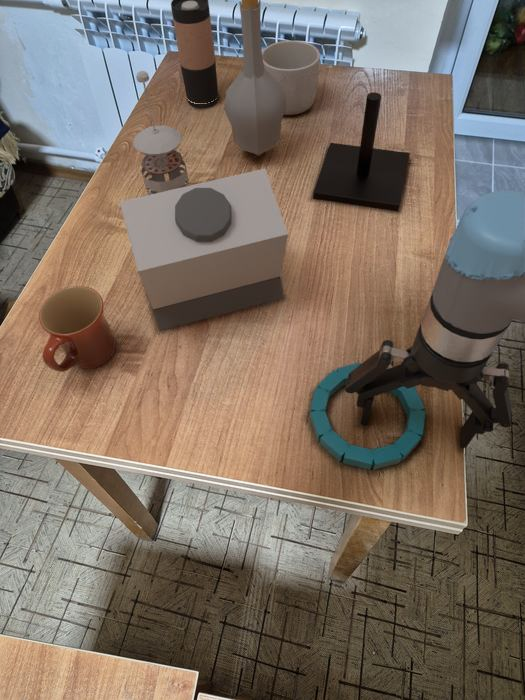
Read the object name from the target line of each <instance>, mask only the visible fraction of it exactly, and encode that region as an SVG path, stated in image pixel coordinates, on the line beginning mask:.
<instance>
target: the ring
mask: <svg viewBox="0 0 525 700" xmlns="http://www.w3.org/2000/svg"><path fill="white" fill-rule="evenodd" d="M360 364H362V362H356V363H353V364H348V365H343V366H340V367H337V368H336V369H333V370H332V371H331V372H330V373H328V374H327V375H326V376H325V377H324V378H323V379H322V380H321V381H320V382H319V383H317V385H316V387H315V389H314V394H313V397H312V401H311V405H310V408H309V409H310V410H309V420H310V424H311V426H312V429H313V432H314V435H315V438H316V440H317V442H319V445H320V446H321V447H322V448H323V449H324V450H326V451H327V452H328V453H329V454H330V455H331V456H332V457H334V458H335V459H336V460H337V461H338V462H342V464H344V465H348V466H352V467H356V468H360V469H363V470H364V469H365V470H368V471H371V469H372V470H373V471H375V470H379V469H383V468H386V467H391V466H394V465H398V464H400V462H403V461H404V460H405V459H406V458H407V457H408V456H409V455H410V454H411V453H412V452H413V450H415V448H416V447H417V446H418V445H419V443H420V441H421V440H422V437H423V435H424V428H425V420H426V408H425V405H424V403H423V402H422V400H421V397H420V395H419V394H418V391H417V390H416V388H415V387H416V386H414V387H411V388H406V387H401V388H398V389H395V390H392V391H389V392H390V393H391V394H392V395H394V396H395V397H397V398H398V399H399V401H400V404H401V406H402V408H403V410H404V412H405V414H406V424H405V430H404V433H403V434H402V435H401V436H400V437H398V439H397V440H396V441H395V442H394V443H392V444H388V445H386V446H381V447H377V448H374V449H370V448H366V447H362V446H358V445H353V444H350V443H348V442H347V441H346V440H345V439H344V438H343V437H341V436H340V435H339V434H338V433H337V432H336V431H334V430H333V428H332V426H331V423H330V420H329V417H328V415H327V414H328V413H327V407H328V403H329V399H330V398H331V397H332V396H333V395H335V393H336V392H338V391H339V390H340V389H341V388H342V387H344V386H346V384H347V379H348V374H349V373H350V372H351V371H353V370H354V369H355V368H356V367H358V366H359V365H360ZM387 369H389V368H387ZM387 369H386V370H387Z"/></svg>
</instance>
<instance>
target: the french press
mask: <svg viewBox="0 0 525 700" xmlns="http://www.w3.org/2000/svg"><path fill="white" fill-rule="evenodd" d="M136 81H137V82H138V83H142V85H143V88H144V92H145V97H146V102H147V105H148V110H149V113H150V119H151V123H152V125H150V126H148V127H145V128H144V129H142V130H141V131H139V132H138V133H137V134H136V135H135V136H134V138H133V140H132V145H133V148H134V149H135V150H136V151H138V152H139V153H141V154H142V155H145V156H144V157H143V158H142V160H141V167H142V168H141V176H142V179H143V182H144V186H145V191H146V195H151V194H155V193H160V192H164V191H169V190H173V189H177V188H182V187H186V186H191V185H190V180H189V175H188V169H187V164H186V163H185V161H184V159H183V156H182V154H181V153H180V152H178V151H177V150H176V149H178V147H179V146H180V145H181V142H182V135H181V133H180V131H179V130H177V129H176V128H174V127H172V126H168V125H164V124H163V125H155V122H154V119H153V113H152V109H151V104H150V100H149V95H148V91H147V87H146V83H147V82H148V81H150V76H149V73H148V72H147V71H145V70H140V71H138V72H137V73H136ZM181 165H183V166H181ZM181 171H182V172H181ZM145 172H146V173H145ZM144 173H145V174H144ZM165 175H168V180H166V177H165ZM149 176H150V177H149ZM148 177H149V178H148Z"/></svg>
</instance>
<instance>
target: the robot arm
mask: <svg viewBox="0 0 525 700" xmlns="http://www.w3.org/2000/svg"><path fill="white" fill-rule="evenodd" d="M438 271H439V272H438V275H437V277H436V281H435V284H434V286H433V289H432V292H431V295H430V297H429V300H428V303H427V306H426V308H425V310H424V313H423V316H422V319H421V321H420V324H419V326H418V329H417V332H416V335H415V337H414V340H413V343H412V345H411V346H410V347H409V348H407V349H406V350H404V349H400V348H396V347H394V342H393V341H392V340H390V339H389V340H388V339H385V340H383V341H382V342H381V345H380V348H379V350H377V351H376V352H375V353H373V354H372V355H371V356H370V357H368V358H367V359H366V360H365V361H362V362H361V364H360V365H359V366H358V367H356V368H355V369H354V370H353V371H351V372H350V373H349V374H348V379H347V384H346V385H345V388H344V391H345V393H347V394H354V393H356V394H357V398H356V407H357V408H362V413H361V414H362V415H361V420H360V425H362V426H363V425H364V426H367V423H368V420H369V417H370V414H371V411H372V407H373V404H374V399H375V397H377V396H379V395H382V394H385V393H389V392H390V391H392V390H395V389H398V388H401V387H406V388H411V387H417V386H422V387H427V388H435V389H439V390H441V391H445V392H449V391H452V393H454V395H455V396H456V397H457V399H458V400H460V401H461V400H462V401H463V402H464V403H465V404H466V405H467V407H468V408H469V409H470V410H471V413H470V414H469V416H468V417H467V419H466V420H465V421H464V423H463V425H462V426H461V428H460V439H459V448H462V449H466V448H467V447H468V445H469V444H470V443H471V442H472V440H473V439H474V438H475V436H476V435H477V434H478V435H483V434H485V433H491V432H493V431H494V424H499V426H500V427H502V428H510V427H511V426H512V404H511V400H510V399H511V398H510V395H509V394H510V393H509V390H508V389H509V387H510V365H509V364H508V363H505V362H500V363H498V364H497V365H496V367H491V366H487V363H488V362H489V360H490V358H491V357H492V355H493V354H494V351H495V350H496V348H497V347H498V345H499V343H500V342H501V341H502V338H503V336H505V333H506V332H507V329H509V327H510V326H511V324H512V322H513V320H516V321H520V322H522V323H523V322H524V323H525V192H523V191H517V190H498V191H491V192H488V193H486V194H482V195H481V196H478V197H477V198H476V199H474V200H473V201H471V202H470V203H469V205H468V206H466V208H465V209H464V211H463V213H462V214H461V217H460V219H459V221H458V223H457V226H456V228H455V230H454V232H453V235H452V236H451V237H450V239H449V243H448V245H447V248H446V251H445V254H444V257H443V259H442V262H441V266H440V268H439V270H438ZM397 363H400V364H398V365H397ZM394 365H395V366H394ZM387 368H389V369H387ZM386 369H387V370H386ZM482 379H483V380H485V381H486V384H487V385H488V387H489V388H488V389H490V390H492V398H493V402H494V404H493V403H492V402H491V401H490V399H489V398H488V396H486V394H485V392H484V391H483V390H482V389H481V387H480V386H479V385H478V382H480V381H482ZM494 405H495V406H494Z"/></svg>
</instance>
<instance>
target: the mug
mask: <svg viewBox="0 0 525 700" xmlns="http://www.w3.org/2000/svg"><path fill="white" fill-rule="evenodd" d="M104 308H105V307H104V300H103V298H102V296H101V294H100V293H99V292H98V290H96V289H94V288H92V287H90V286H85V285H72V286H66V287H64V288H61V289H59V290H57V291H55V292H54V293H52V294H50V296H48V297H47V299H46V300H44V302H43V303H42V305H41V307H40V309H39V312H38V320H39V324H40V326H41V328H42V330H44V331H45V332H47V334H49V337H48V340H47V343H46V344H45V346H44V348H43V351H42V360H43V362H44V363H45V365H46V366H47V367H48V368H49V369H51V370H53V371H55V372H60V373H64V372H67V371H69V370H70V369H72V368H73V367H75V366H77V367H79V368H82V369H89V370H90V369H94V368H98V367H101V366H102V365H104V364H106V363H107V362H108V361H109V360H110V359H111V358H112V357H113V355H114V354H115V351H116V347H117V346H116V338H115V334H114V332H113V330H112V327H111V326H110V324H109V322H108V320H107V319H106V317H105V313H104ZM59 347H60V348H61V349H62V350H63V352H64V354H65V356H64V359H63V361H61V362H60V363H58V362H57V361H56V359H55V354H56V351H57V350H58V348H59Z"/></svg>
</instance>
